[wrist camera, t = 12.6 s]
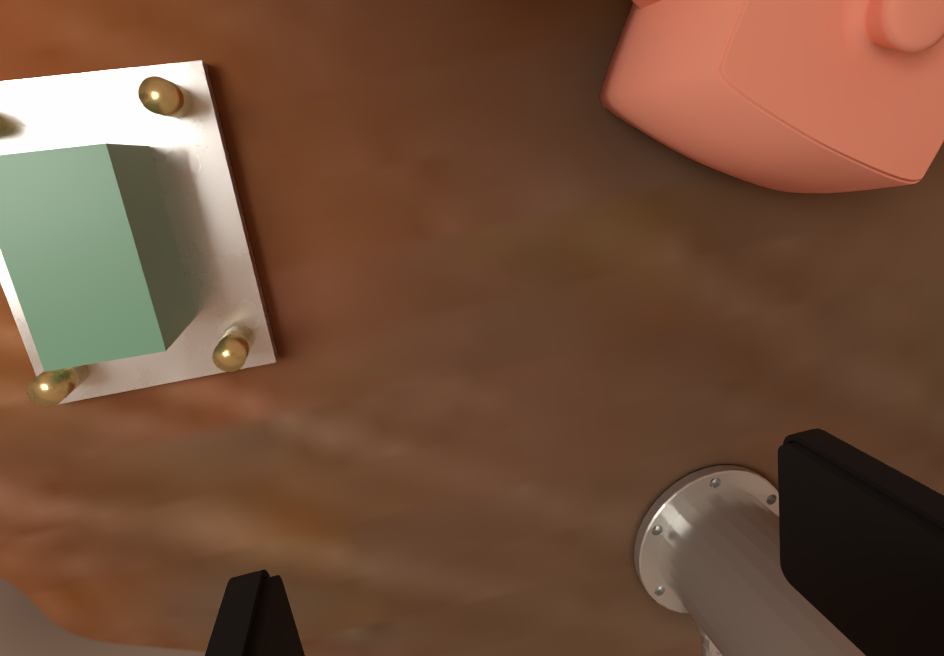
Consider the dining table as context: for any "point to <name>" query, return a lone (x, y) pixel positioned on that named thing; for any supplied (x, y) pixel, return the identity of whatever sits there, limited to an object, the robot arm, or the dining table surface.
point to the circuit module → (91, 253)
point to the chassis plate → (188, 206)
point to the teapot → (787, 88)
